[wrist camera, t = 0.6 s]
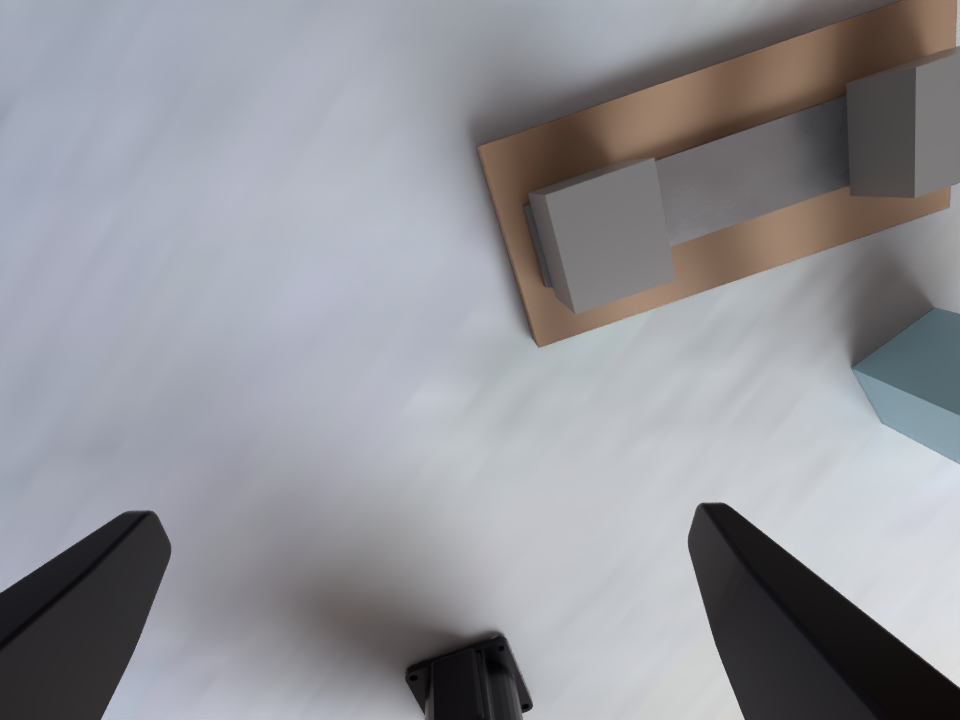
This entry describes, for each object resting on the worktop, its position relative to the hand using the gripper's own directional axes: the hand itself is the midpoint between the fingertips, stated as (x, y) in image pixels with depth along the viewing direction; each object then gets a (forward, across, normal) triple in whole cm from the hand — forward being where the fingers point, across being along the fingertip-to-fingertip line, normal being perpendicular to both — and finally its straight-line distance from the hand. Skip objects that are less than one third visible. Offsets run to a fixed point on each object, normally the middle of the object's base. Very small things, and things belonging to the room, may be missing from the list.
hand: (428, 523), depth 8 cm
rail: (+17, -12, -2) cm, 21 cm away
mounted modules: (+16, -12, -3) cm, 20 cm away
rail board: (+17, -12, -2) cm, 21 cm away
